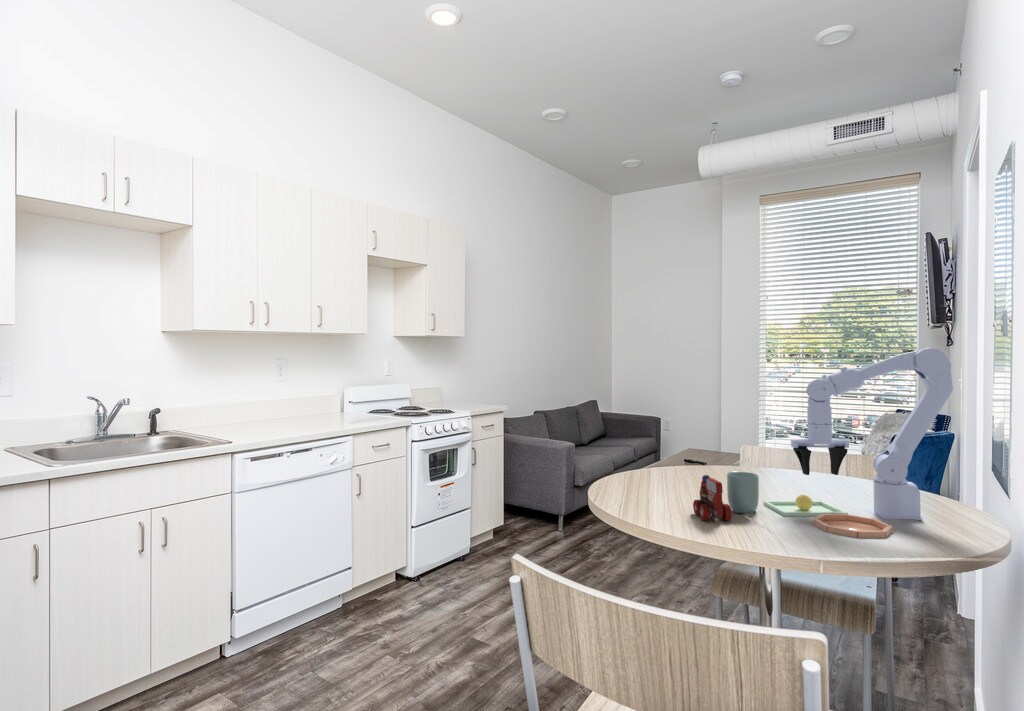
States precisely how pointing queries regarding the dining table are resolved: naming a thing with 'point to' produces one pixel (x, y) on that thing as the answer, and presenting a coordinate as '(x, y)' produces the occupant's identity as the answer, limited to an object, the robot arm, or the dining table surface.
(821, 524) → the dish
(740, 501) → the cup
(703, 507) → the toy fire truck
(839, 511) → the tray
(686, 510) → the dining table surface
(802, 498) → the ball
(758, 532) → the dining table surface
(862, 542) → the dining table surface
